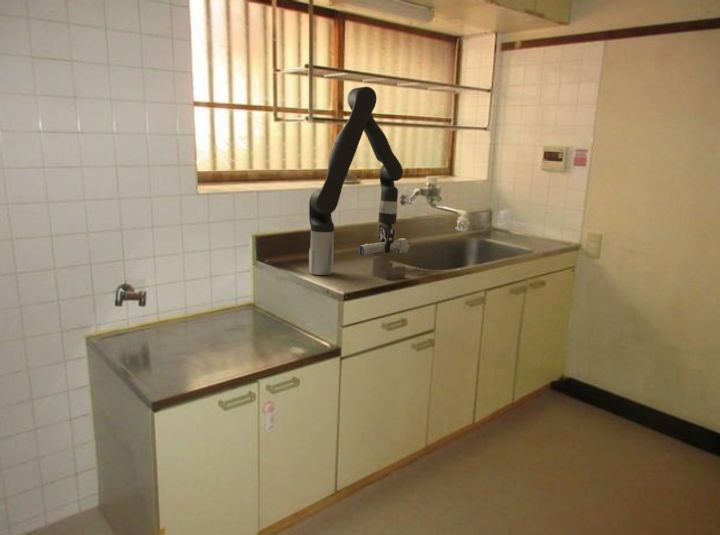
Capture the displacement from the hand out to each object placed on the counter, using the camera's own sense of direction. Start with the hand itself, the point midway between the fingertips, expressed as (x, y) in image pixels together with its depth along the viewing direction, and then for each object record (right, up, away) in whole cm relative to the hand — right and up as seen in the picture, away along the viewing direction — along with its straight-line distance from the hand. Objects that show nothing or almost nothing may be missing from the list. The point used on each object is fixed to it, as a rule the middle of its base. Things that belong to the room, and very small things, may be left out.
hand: (384, 251), depth 227 cm
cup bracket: (+1, -11, -12) cm, 16 cm away
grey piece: (0, -1, 0) cm, 1 cm away
